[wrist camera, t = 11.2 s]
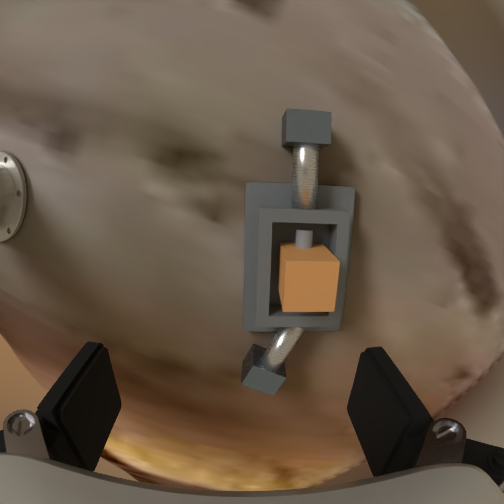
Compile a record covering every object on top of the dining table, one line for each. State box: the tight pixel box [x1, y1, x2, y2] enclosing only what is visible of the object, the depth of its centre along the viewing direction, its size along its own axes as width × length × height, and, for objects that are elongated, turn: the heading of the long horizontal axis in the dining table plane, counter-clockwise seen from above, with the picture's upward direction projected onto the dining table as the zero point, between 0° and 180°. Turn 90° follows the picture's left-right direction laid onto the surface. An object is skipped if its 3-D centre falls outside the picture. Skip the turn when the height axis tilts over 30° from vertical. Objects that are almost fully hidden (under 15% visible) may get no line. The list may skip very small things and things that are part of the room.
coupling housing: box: [244, 182, 355, 332], centre depth 30 cm, size 11×16×4 cm
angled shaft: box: [241, 327, 306, 396], centre depth 32 cm, size 9×4×4 cm, turn 154°
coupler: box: [277, 228, 340, 312], centre depth 28 cm, size 4×8×7 cm, turn 179°
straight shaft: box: [282, 109, 331, 210], centre depth 27 cm, size 9×4×4 cm, turn 179°
